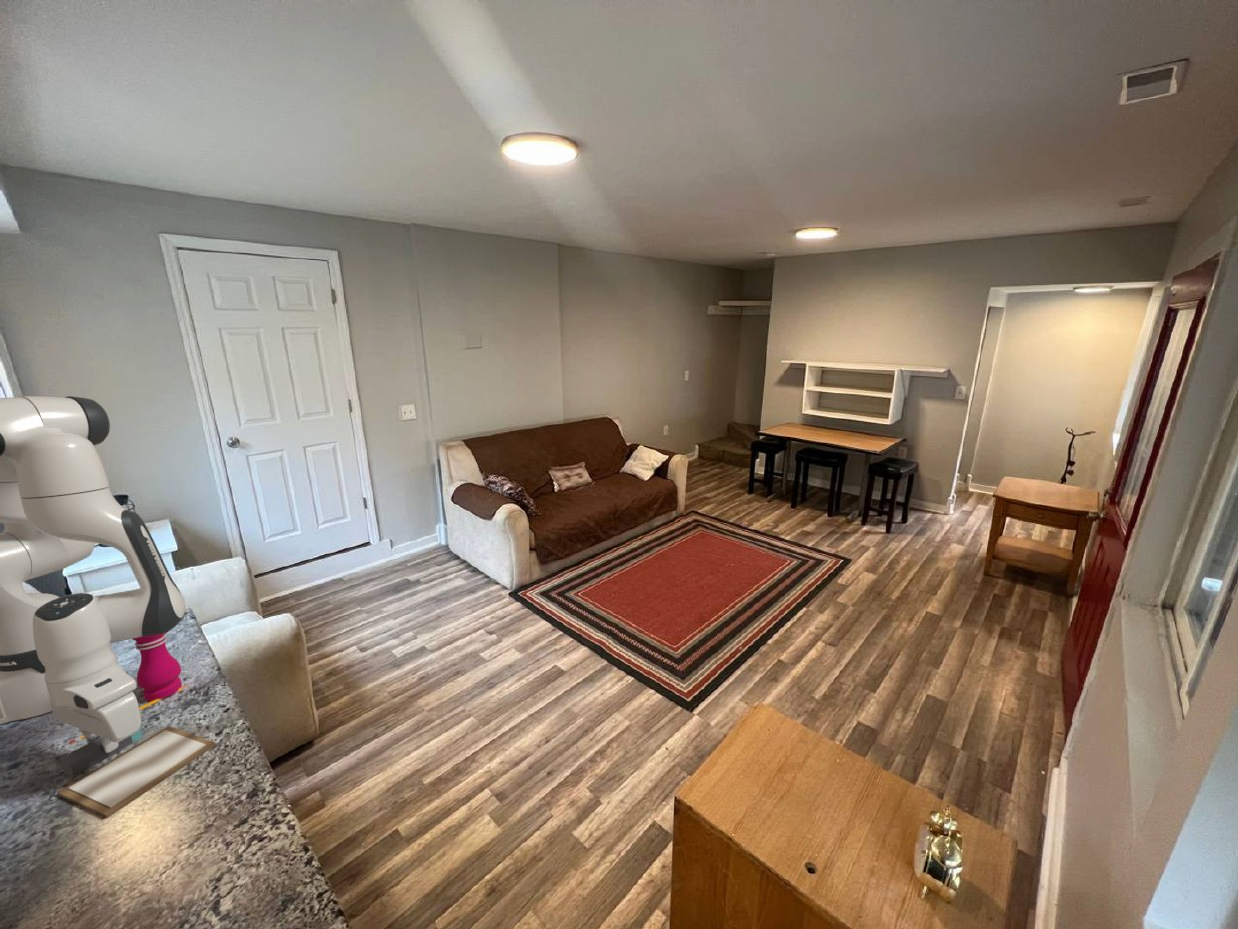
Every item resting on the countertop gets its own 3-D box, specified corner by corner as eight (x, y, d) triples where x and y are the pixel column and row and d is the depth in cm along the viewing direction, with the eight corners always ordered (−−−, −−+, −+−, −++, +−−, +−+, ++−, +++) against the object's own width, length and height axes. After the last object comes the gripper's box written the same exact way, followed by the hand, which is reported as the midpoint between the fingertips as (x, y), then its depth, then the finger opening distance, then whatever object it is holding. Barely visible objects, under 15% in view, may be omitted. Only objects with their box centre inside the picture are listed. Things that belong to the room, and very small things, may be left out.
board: (57, 795, 82) (56, 791, 82) (169, 729, 97) (168, 725, 97) (106, 818, 77) (105, 814, 77) (215, 745, 92) (214, 741, 92)
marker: (64, 773, 86) (59, 759, 86) (133, 733, 96) (130, 720, 95) (73, 777, 85) (69, 763, 85) (143, 736, 95) (139, 723, 94)
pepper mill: (158, 705, 104) (137, 621, 100) (132, 701, 105) (111, 618, 101) (193, 683, 111) (175, 605, 107) (168, 680, 112) (150, 602, 108)
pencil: (69, 744, 94) (68, 741, 94) (189, 685, 111) (188, 682, 110) (71, 745, 93) (70, 742, 93) (191, 686, 110) (190, 683, 110)
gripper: (29, 681, 88) (48, 746, 91) (95, 705, 81) (114, 773, 84) (76, 662, 94) (93, 722, 97) (141, 682, 87) (157, 746, 90)
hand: (103, 746), depth 90 cm, fingers closed on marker, 3 cm apart
